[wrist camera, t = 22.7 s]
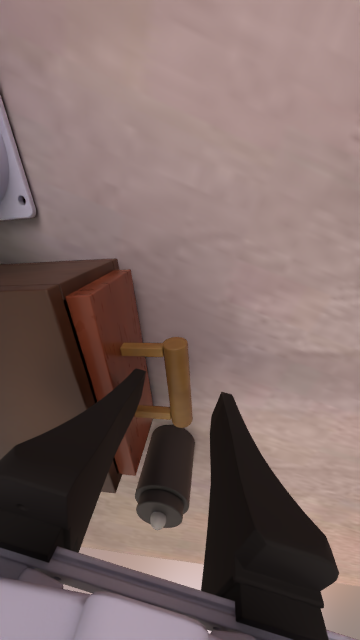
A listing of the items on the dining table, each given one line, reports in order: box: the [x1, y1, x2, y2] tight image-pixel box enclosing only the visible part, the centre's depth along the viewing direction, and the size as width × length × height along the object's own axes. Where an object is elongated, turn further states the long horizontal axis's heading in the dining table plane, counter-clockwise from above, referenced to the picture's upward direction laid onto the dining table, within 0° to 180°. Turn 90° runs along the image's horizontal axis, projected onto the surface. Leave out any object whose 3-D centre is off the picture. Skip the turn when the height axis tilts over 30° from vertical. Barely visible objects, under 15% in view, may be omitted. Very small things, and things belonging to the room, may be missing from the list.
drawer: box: [64, 269, 193, 476], centre depth 15 cm, size 16×13×5 cm
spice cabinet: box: [0, 259, 122, 493], centre depth 16 cm, size 14×14×7 cm
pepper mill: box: [135, 425, 195, 530], centre depth 19 cm, size 4×4×7 cm
